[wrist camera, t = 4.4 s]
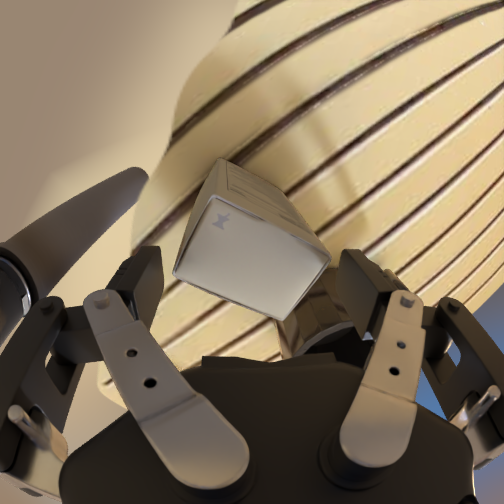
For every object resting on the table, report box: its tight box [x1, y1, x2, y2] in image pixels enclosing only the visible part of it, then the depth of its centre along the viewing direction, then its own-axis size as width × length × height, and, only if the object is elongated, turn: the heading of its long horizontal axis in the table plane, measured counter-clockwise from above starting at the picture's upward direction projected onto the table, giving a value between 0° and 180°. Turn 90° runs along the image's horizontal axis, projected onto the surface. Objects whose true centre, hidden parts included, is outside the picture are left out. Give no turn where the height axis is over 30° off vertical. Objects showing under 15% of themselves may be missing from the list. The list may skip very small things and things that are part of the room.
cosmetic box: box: [172, 158, 332, 321], centre depth 17 cm, size 6×4×12 cm
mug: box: [274, 268, 410, 369], centre depth 25 cm, size 14×10×8 cm
